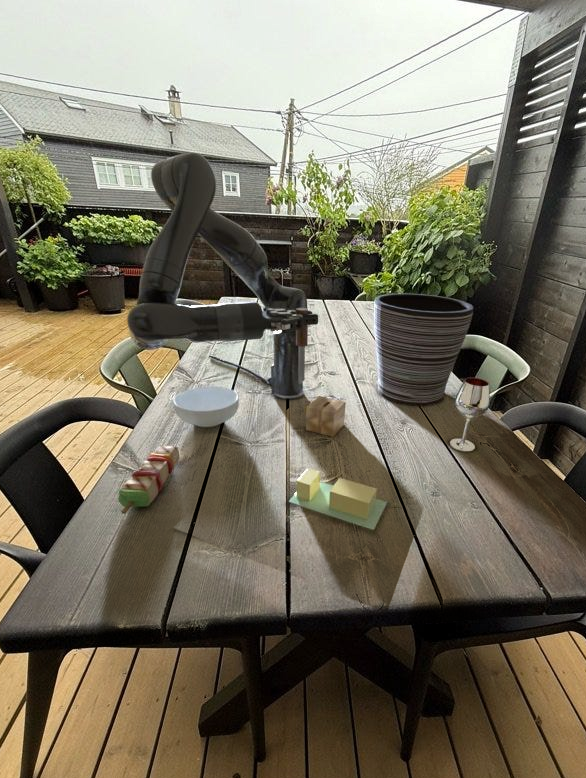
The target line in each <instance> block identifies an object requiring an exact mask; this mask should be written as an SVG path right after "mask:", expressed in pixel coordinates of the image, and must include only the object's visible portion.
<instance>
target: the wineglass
mask: <svg viewBox="0 0 586 778" xmlns="http://www.w3.org/2000/svg"><path fill="white" fill-rule="evenodd" d="M490 402H491V396H490V383H489V381H487V380H485V379H483V378H479V377H467V378H465V379H463V382H462V383H461V386H460V387H459V390H458V392H457V394H456V396H455V399H454V406H455V408H456V411H458V412H459V414H460V415H461V416H462V417H463V418H464V420H465V425H464V428H463V433H462V437H461V438H453V439H450V440H449V445H450V446H451V448H453V449H455V450H457V451H459V452H466V453H469V452H472V451H474V450H475V448H476V446H475V444H474V443H473V442H471V441H470V440H468V439H466V438H467V434H468V429H469V425H470V422H471V421H473V420H475V419H478V418H480V417H481V416H483V415H485V414H486V413H487V412H488V410H489V408H490Z"/></svg>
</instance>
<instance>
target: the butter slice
mask: <svg viewBox="0 0 586 778" xmlns="http://www.w3.org/2000/svg"><path fill="white" fill-rule="evenodd" d="M321 473H322V472H321V471H317V470H315V469H312V468H306V470H305V471H304V472H303V473H302V474H301V476H300V477H298V478H297V480H296V492H297V494H296V497H298V498H301V499H304V500H308V501H310V500H311V499H312V497H313V496H314V495H315V493H316V492H317V491H318V490H319V488H320V482H321V476H322V474H321Z"/></svg>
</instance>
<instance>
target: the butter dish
mask: <svg viewBox="0 0 586 778" xmlns="http://www.w3.org/2000/svg"><path fill="white" fill-rule="evenodd" d="M377 492H378V488H376V487H373V486H369V485H366V484H362V483H359V482H355V481H352V480H348V479H345V478H342V477H339V478H338V479H337V481H336V482H335V484H334V485H332V484H329V483H325V482H323V481H320V488H319V490H318V491H317V492H316V493H315V495H314V496H313V497H312V499H311V500H310V501H308V500H304V499H301V498H298V497H296V494H297V491H296V492H295V493H294V494H293V496H292V497H291V498H290V499H289V500H288V503H290V504H294V505H296V506H299V507H303V508H306V509H309V510H311V511H314V512H317V513H321V514H324V515H327V516H330V517H333V518H336V519H339V520H342V521H345V522H348V523H351V524H354V525H358V526H360V527H363V528H367V529H370V530H372V531H374V530H375V528H376V526H377V524H378V522H379V520H380V518H381V516H382V514H383V512H384V510H385V508H386V507H387V504H388V501H386V500H382V499H379V498H377Z"/></svg>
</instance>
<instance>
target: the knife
mask: <svg viewBox="0 0 586 778" xmlns="http://www.w3.org/2000/svg"><path fill="white" fill-rule="evenodd" d="M308 311H309V309H308V308H307V309H306V308H297V309H296V314H308ZM296 324H297V321H296ZM308 328H309V325H303V329H300V330H296V345H297V346H299V384H300V383H301V382H303V383H304V382H305V380H306V379H305V375H306V373H305V372H306V371H305V370H306V368H305V366H306V363H305V362H306V361H305V360H306V347H307V346H309V345H308V344H309V342H308V341H309V329H308Z"/></svg>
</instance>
